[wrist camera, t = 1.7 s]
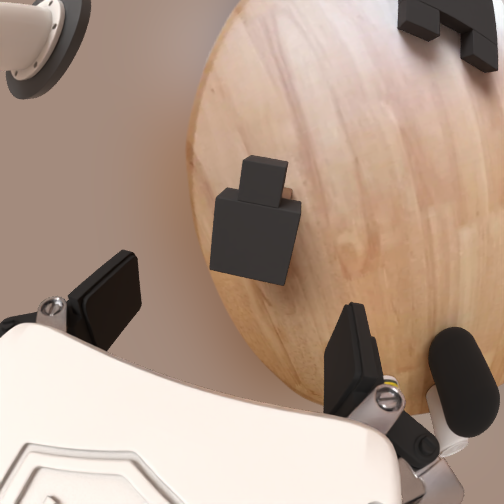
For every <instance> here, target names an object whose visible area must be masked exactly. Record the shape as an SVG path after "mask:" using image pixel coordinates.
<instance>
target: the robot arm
mask: <svg viewBox="0 0 504 504" xmlns="http://www.w3.org/2000/svg"><path fill="white" fill-rule="evenodd" d="M64 18H65V8H64V4H63V3H62V1H60V0H44V1H43V2H41V3H39V4H38V5H37V6H33V5H26V4H17V3H6V2H0V71H10V70H11V73H12V75H13V77H14V78H15V79H17V80H27V79H30V78H32V77H33V76H34V75H36V74H37V73H38V72H39V71H40V70H41V68H42V67H43V66H44V65H45V63H46V62H47V60H48V59H49V57H50V55H51V54H52V52H53V50H54V48H55V46H56V44H57V42H58V39H59V37H60V34H61V31H62V28H63V24H64ZM68 298H69V300H68V301H67V302H66V301H65V299H63V298H62V297H57V296H56V297H49V298H47V299H45V300H44V301H42V302H41V303H40V305H39V307H38V311H37V312H35V313H29V314H24V315H18V316H13V317H9V318H6V319H4V320H3V321H2V322H1V323H0V504H401V501H402V499H401V495H402V498H403V501H402V504H461V502H462V501H463V497H464V489H463V486H462V485H461V483H460V482H459V480H458V479H457V477H456V476H455V474H454V472H453V471H452V469H451V468H450V466H449V465H448V463H447V462H446V461H445V459H444V457H443V458H442V459H440V457H439V456H438V455H439V453H440V445H439V442H438V440H437V438H436V437H435V436H434V435H433V434H432V433H430V432H429V431H428V430H427V429H426V428H424V427H423V426H422V425H421V424H419V423H418V422H417V421H416V420H415V419H414V418H412V417H411V416H410V415H409V414H408V413H406V412H405V411H404V408H405V404H406V400H405V397H404V395H403V393H402V392H401V391H400V390H399V389H398V388H397V387H395V386H393V385H390V384H385V383H384V378H383V372H382V367H381V362H380V357H379V352H378V348H377V343H376V339H375V338H374V337H372V336H371V334H370V330H369V325H368V321H367V316H366V312H365V308H364V305H363V304H359V303H353V302H350V303H349V305H345V306H344V308H343V310H342V313H341V315H340V317H339V320H338V322H337V324H336V327H335V329H334V331H333V334H332V336H331V338H330V340H329V342H328V345H327V347H326V349H325V353H324V413H318V412H312V411H306V410H300V409H295V408H289V407H284V406H279V405H273V404H269V403H264V402H259V401H255V400H250V399H246V398H242V397H237V396H233V395H229V394H226V393H222V392H218V391H215V390H211V389H208V388H204V387H201V386H198V385H194V384H191V383H188V382H185V381H182V380H179V379H176V378H173V377H170V376H167V375H164V374H161V373H158V372H156V371H153V370H150V369H148V368H145V367H142V366H140V365H138V364H135V363H132V362H130V361H127V360H125V359H123V358H120V357H118V356H116V355H113V354H111V353H109V352H107V350H108V349H109V348H110V346H111V345H112V344H113V343H114V341H115V340H116V339H117V337H118V336H119V335H120V334H121V332H122V331H123V330H124V328H125V327H126V326H127V325H128V323H129V322H130V321H131V320H132V318H133V317H134V316H135V315H136V313H137V312H138V311H139V310H140V307H141V304H142V302H141V293H140V282H139V271H138V259H137V257H136V256H135V254H134V253H133V252H130V251H126V250H121V251H120V252H119V253H117V254H116V255H115V256H114V257H112V258H111V259H110V260H109V261H107V262H106V263H105V264H104V265H102V266H101V267H100V268H99V269H98V270H96V271H95V272H94V273H93V274H92V275H91V276H89V277H88V278H87V279H86V280H85V281H83V282H82V283H81V284H80V285H79V286H78V287H77V288H75V289H74V290H73V291H72V292H71V293H70V294H69V295H68Z"/></svg>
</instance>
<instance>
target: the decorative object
mask: <svg viewBox="0 0 504 504" xmlns="http://www.w3.org/2000/svg"><path fill="white" fill-rule="evenodd" d="M428 360H429V367H430V370H431V373H432V376H433V379H434V382H435V385H436V388H437V392H438V395H439V398H440V402H441V405H442V409H443V413H444V417H445V420H446V423H447V425H448V427H449V429H450V430H451V431H452V432H453V433H454V434H456V435H458V436H460V437H464V438H470V437H475V436H477V435H479V434H481V433H483V432H484V431H485V430H487V429H488V428H489V426H490V425H491V424H492V423H493V421H494V419H495V418H496V415H497V413H498V410H499V405H500V394H499V390H498V387H497V385H496V382H495V380H494V378H493V376H492V373H491V371H490V369H489V367H488V365H487V363H486V361H485V359H484V357H483V355H482V353H481V351H480V349H479V347H478V345H477V343H476V341H475V339H474V338H473V336H472V335H471V334H470V333H469V332H468V331H466V330H465V329H463V328H459V327H450V328H447V329H445V330H443V331H441V332H440V333H439V334H438V335H437V336H436V337H435V339H434V340H433V342H432V344H431V346H430V350H429V356H428Z"/></svg>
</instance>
